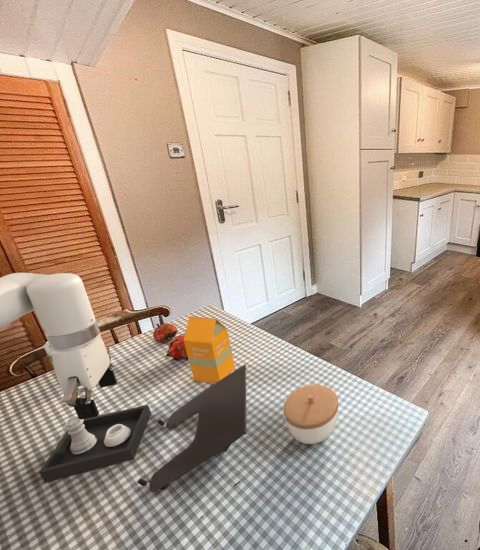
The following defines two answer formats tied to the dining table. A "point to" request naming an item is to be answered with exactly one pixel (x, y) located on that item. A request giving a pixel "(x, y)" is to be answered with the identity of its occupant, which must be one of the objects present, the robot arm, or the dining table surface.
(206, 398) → the laptop stand
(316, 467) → the dining table surface
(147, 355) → the dining table surface
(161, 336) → the pomegranate
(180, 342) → the dragon fruit
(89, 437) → the rook chess piece
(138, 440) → the black tray
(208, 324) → the orange juice
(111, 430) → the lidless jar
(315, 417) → the lidded bowl
